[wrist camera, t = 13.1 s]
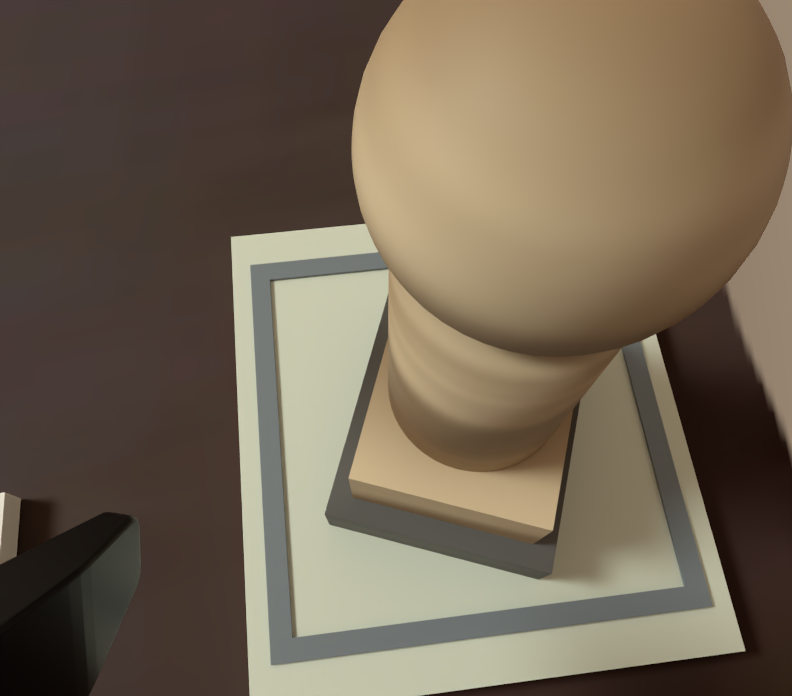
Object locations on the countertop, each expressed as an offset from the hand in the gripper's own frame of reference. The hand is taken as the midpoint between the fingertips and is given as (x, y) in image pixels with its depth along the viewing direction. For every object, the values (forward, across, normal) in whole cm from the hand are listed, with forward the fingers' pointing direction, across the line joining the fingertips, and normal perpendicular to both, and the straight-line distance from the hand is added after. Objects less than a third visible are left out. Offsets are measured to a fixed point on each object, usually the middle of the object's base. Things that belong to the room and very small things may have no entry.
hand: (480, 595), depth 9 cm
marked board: (+9, 0, +2) cm, 9 cm away
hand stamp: (+8, 0, +2) cm, 9 cm away
